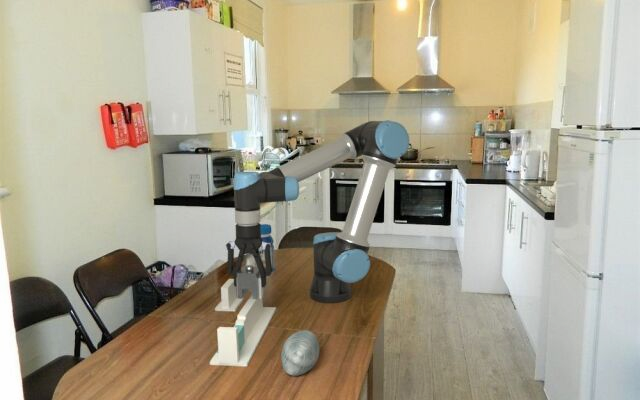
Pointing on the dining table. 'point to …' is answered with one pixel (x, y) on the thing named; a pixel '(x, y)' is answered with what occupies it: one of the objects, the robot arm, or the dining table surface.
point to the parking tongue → (228, 297)
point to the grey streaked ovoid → (300, 352)
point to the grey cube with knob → (248, 281)
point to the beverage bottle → (266, 238)
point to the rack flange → (243, 334)
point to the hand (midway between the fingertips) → (250, 296)
